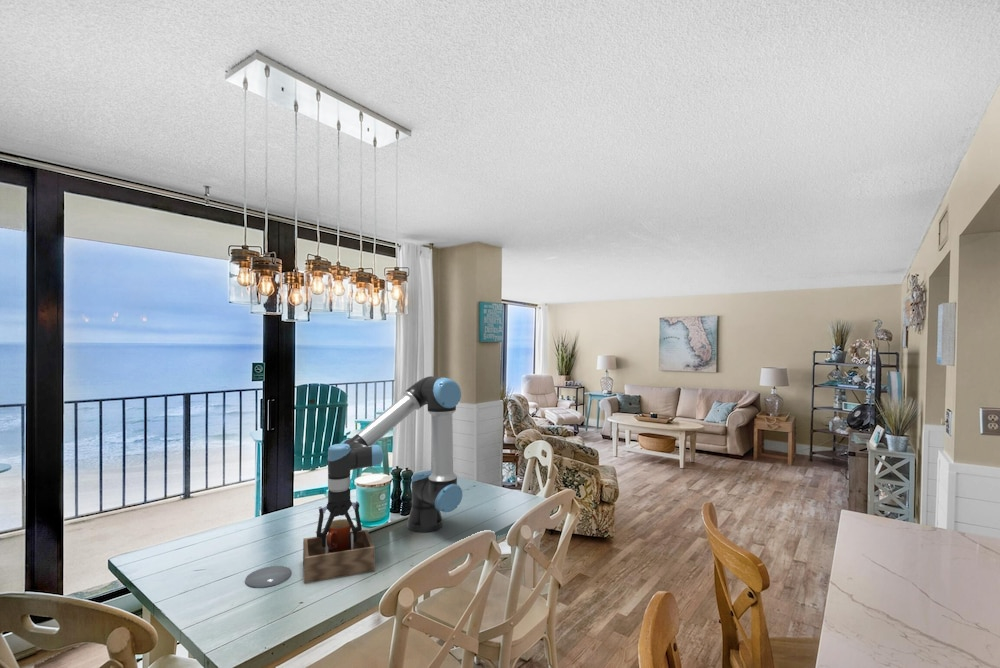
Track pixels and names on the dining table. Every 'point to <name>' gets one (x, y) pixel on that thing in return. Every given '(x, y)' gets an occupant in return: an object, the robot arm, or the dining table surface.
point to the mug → (339, 536)
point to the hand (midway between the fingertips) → (339, 553)
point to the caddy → (337, 558)
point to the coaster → (268, 576)
